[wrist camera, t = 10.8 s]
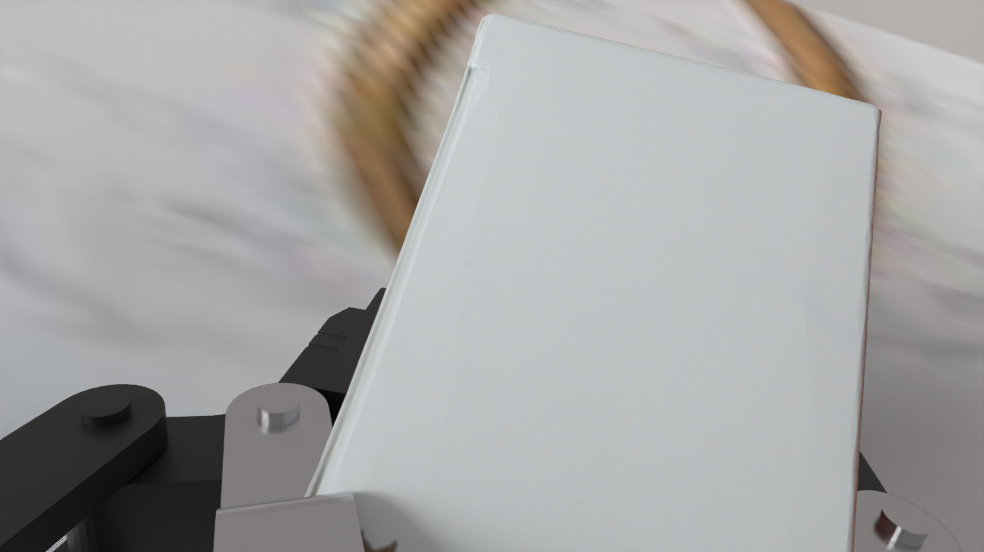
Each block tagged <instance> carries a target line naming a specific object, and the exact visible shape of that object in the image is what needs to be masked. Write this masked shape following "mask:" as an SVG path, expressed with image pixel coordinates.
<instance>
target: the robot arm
mask: <svg viewBox="0 0 984 552" xmlns="http://www.w3.org/2000/svg"><path fill="white" fill-rule="evenodd" d="M386 289H387V288H381V289H380V290H379V291H378V293H377V294H376V296H375V297H374V298H373V300H372V301H371V303H370V304H369V306H368V307H367V309H366V310H362V309H357V308H351V307H349V308H347V309H345V310H343V311H341V312H339V313H337V314H336V315H334V316H332V317H330V318H329V319H328V320H327V321H326V323H325V324H324V325H323V326H322V328H321V329H320V330H319V331H318V335H315V337H314V338H313V339H312V340H311V342H310V343H309V346H308V347H306V348H305V349H304V351H303V352H302V353H301V354H300V356H299V357H298V358H297V359H296V361H295V362H294V363H293V365H292V366H291V367H290V368H289V370H288V371H287V372H286V373H285V375H284V376H283V377H282V379H281V380H280V381H279V382H278V383H274V384H267V385H262V386H258V387H255V388H252V389H250V390H248V391H246V392H244V393H242V394H241V395H239V396H238V397H236V398H235V399H234V400H233V401H232V402H231V404H230V405H229V407H228V409H227V411H226V414H223V415H214V416H190V417H166V411H165V403H164V400H163V398H162V397H161V396H160V395H159V394H158V393H157V392H155V391H154V390H152V389H149V388H147V387H143V386H138V385H130V384H117V385H107V386H101V387H97V388H93V389H89V390H86V391H83V392H80V393H78V394H75V395H73V396H71V397H69V398H67V399H65V400H64V401H62V402H60V403H59V404H57V405H56V406H54V407H52V408H51V409H49V410H48V411H46V412H44V413H43V414H41V415H40V416H38V417H36V418H35V419H33V420H31V421H30V422H28V423H27V424H25V425H23V426H22V427H20V428H19V429H17V430H15V431H14V432H12V433H11V434H9V435H7V436H6V437H4V438H3V439H1V440H0V552H46V551H47V550H48V549H49V548H50V547H52V546H53V545H54V544H55V543H56V542H57V541H59V540H60V539H61V538H62V537H63V536H65V535H67V540H66V541H65V542H64V543H63V544H61V545H60V546H59V547H58V548H57V549H56V550H54V551H53V552H364V547H363V542H362V537H361V531H360V526H359V521H358V516H357V511H356V506H355V501H354V497H353V494H352V492H351V491H346V492H338V493H331V494H323V495H316V496H309V497H305V495H306V492H307V490H308V488H309V485H310V483H311V481H312V478H313V476H314V474H315V471H316V469H317V467H318V464H319V462H320V459H321V457H322V454H323V451H324V449H325V446H326V444H327V441H328V439H329V436H330V434H331V431H332V429H333V426H334V424H335V421H336V419H337V416H338V414H339V411H340V409H341V406H342V404H343V401H344V399H345V397H346V394H347V392H348V389H349V386H350V383H351V381H352V378H353V375H354V373H355V370H356V367H357V365H358V362H359V360H360V357H361V354H362V352H363V349H364V346H365V344H366V341H367V339H368V336H369V333H370V331H371V328H372V326H373V323H374V321H375V318H376V315H377V313H378V310H379V307H380V305H381V302H382V299H383V297H384V294H385V291H386ZM854 552H961V550H960V547H959V545H958V543H957V541H956V540H955V538H954V537H953V535H952V534H951V533H950V532H949V531H948V530H947V528H946V527H945V526H943V525H942V524H941V523H940V522H939V521H938V520H937V519H935V518H934V517H933V516H931V515H930V514H929V513H927V512H926V511H924V510H923V509H921V508H919V507H918V506H916V505H914V504H912V503H910V502H908V501H906V500H904V499H902V498H899V497H896V496H894V495H891V494H887V492H886V491H885V489H884V488H883V486H882V484H881V483H880V481H879V480H878V478H877V477H876V475H875V474H874V472H873V471H872V469H871V468H870V466H869V464H868V463H867V461H866V460H865V458H864V457H863V455H862V454H861V452H860V451H859V469H858V488H857V508H856V523H855V538H854Z"/></svg>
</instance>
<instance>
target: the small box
mask: <svg viewBox="0 0 984 552" xmlns="http://www.w3.org/2000/svg"><path fill="white" fill-rule="evenodd" d="M881 113H882V111H881V110H880V109H879V108H878V107H877V106H876V105H872V104H868V103H864V102H860V101H856V100H852V99H848V98H845V97H841V96H837V95H834V94H830V93H827V92H823V91H819V90H815V89H811V88H807V87H803V86H799V85H794V84H790V83H786V82H782V81H778V80H774V79H769V78H765V77H761V76H756V75H752V74H748V73H744V72H739V71H735V70H731V69H727V68H723V67H719V66H715V65H711V64H707V63H703V62H698V61H694V60H690V59H686V58H682V57H677V56H673V55H669V54H665V53H661V52H656V51H652V50H648V49H644V48H640V47H635V46H631V45H627V44H623V43H619V42H614V41H610V40H606V39H602V38H598V37H593V36H589V35H585V34H581V33H577V32H572V31H568V30H564V29H560V28H556V27H551V26H547V25H543V24H539V23H534V22H530V21H526V20H522V19H517V18H513V17H509V16H505V15H500V14H488V15H487V16H485V17H484V18H482V20H481V23H480V25H479V27H478V30H477V34H476V38H475V42H474V45H473V48H472V51H471V54H470V58H469V61H468V64H467V68H466V71H465V74H464V78H463V81H462V84H461V87H460V90H459V93H458V96H457V98H456V101H455V104H454V107H453V110H452V113H451V116H450V119H449V122H448V125H447V127H446V130H445V133H444V136H443V138H442V141H441V144H440V146H439V149H438V152H437V154H436V157H435V160H434V162H433V165H432V168H431V170H430V173H429V176H428V179H427V181H426V184H425V187H424V189H423V192H422V194H421V197H420V200H419V202H418V205H417V208H416V211H415V213H414V216H413V219H412V222H411V224H410V227H409V230H408V233H407V235H406V238H405V241H404V244H403V246H402V249H401V252H400V254H399V257H398V260H397V262H396V265H395V268H394V270H393V273H392V276H391V278H390V281H389V283H388V286H387V289H386V291H385V294H384V297H383V299H382V302H381V305H380V307H379V310H378V313H377V315H376V318H375V321H374V323H373V326H372V328H371V331H370V333H369V336H368V339H367V341H366V344H365V346H364V349H363V352H362V354H361V357H360V360H359V362H358V365H357V367H356V370H355V373H354V375H353V378H352V381H351V383H350V386H349V389H348V392H347V394H346V397H345V399H344V401H343V404H342V406H341V409H340V411H339V414H338V416H337V419H336V421H335V424H334V426H333V429H332V431H331V434H330V436H329V439H328V441H327V444H326V446H325V449H324V451H323V454H322V457H321V459H320V462H319V464H318V467H317V469H316V471H315V474H314V476H313V478H312V481H311V483H310V485H309V488H308V490H307V492H306V495H305V497H309V496H316V495H323V494H331V493H338V492H346V491H351V492H352V494H353V497H354V501H355V506H356V511H357V516H358V521H359V526H360V531H361V537H362V542H363V547H364V552H854V538H855V523H856V508H857V488H858V469H859V446H860V430H861V416H862V402H863V386H864V369H865V355H866V339H867V318H868V302H869V286H870V269H871V252H872V238H873V219H874V205H875V192H876V179H877V163H878V144H879V128H880V122H881Z"/></svg>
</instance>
